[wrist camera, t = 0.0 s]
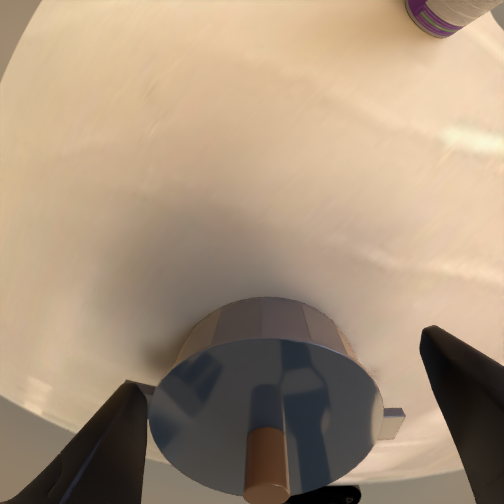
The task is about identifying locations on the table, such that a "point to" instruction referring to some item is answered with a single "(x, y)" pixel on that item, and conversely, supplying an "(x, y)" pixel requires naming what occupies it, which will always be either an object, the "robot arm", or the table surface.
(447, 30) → the container
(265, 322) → the pot
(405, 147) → the table surface
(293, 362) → the lid
